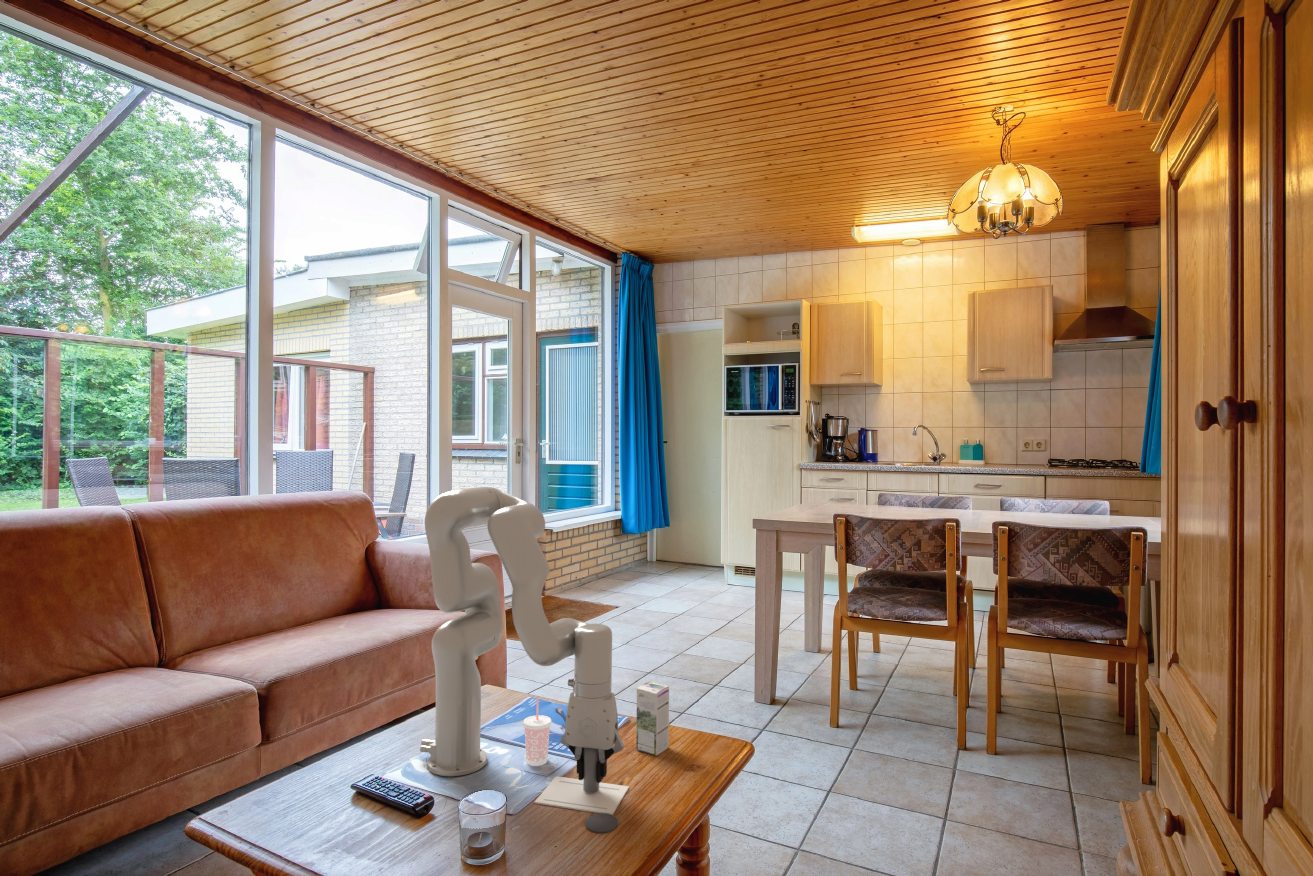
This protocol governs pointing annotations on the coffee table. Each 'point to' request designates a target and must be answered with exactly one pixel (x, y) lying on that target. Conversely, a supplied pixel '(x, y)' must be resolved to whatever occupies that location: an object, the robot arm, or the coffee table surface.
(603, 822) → the coaster
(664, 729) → the syrup box
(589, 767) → the marker
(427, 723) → the coffee table surface
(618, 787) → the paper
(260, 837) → the coffee table surface
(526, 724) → the beverage cup
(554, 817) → the coffee table surface
